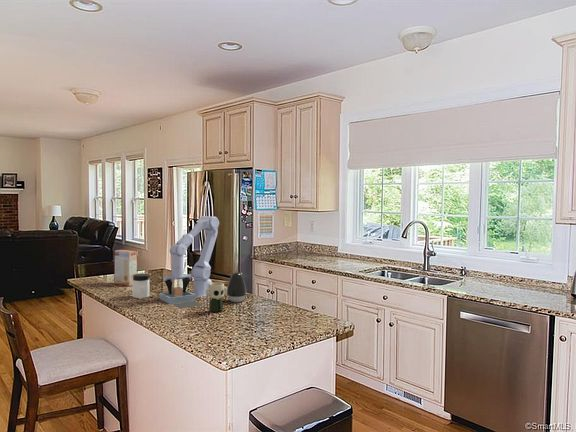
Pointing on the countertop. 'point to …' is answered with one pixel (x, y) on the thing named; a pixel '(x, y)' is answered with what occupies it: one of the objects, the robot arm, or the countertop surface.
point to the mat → (187, 304)
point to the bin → (171, 300)
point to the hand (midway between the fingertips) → (177, 293)
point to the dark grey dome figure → (236, 288)
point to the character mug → (216, 296)
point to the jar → (140, 285)
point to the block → (177, 292)
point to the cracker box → (125, 266)
